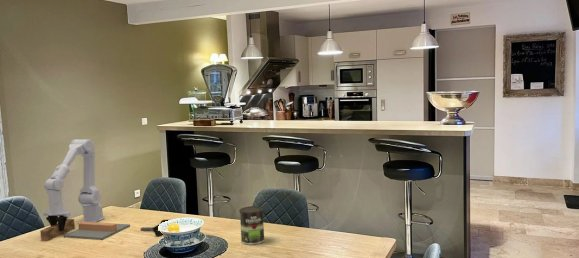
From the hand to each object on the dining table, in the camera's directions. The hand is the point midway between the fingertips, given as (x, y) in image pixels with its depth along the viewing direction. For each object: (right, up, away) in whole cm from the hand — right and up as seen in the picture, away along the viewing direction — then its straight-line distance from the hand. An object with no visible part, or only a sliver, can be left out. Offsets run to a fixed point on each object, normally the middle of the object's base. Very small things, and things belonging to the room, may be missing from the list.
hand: (58, 230), depth 215 cm
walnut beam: (0, -2, 0) cm, 2 cm away
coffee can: (+96, 0, -21) cm, 98 cm away
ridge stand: (+18, -1, +2) cm, 18 cm away
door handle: (+49, 0, +2) cm, 49 cm away
